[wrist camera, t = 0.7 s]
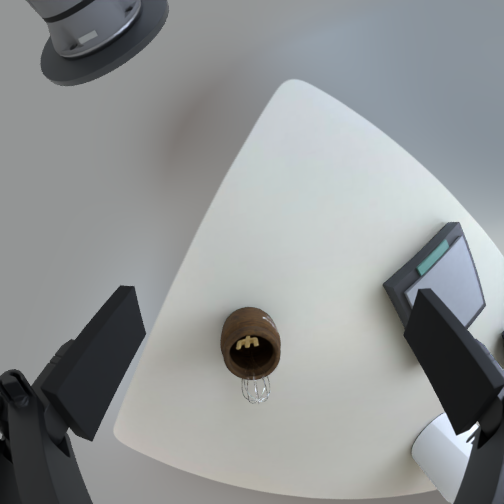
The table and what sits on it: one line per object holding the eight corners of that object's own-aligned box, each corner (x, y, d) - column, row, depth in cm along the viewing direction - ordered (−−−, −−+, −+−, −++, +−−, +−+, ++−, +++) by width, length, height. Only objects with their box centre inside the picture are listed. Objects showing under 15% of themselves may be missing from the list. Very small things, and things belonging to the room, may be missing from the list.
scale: (382, 284, 30) (395, 288, 27) (447, 222, 30) (462, 221, 27) (419, 362, 32) (431, 371, 28) (475, 302, 32) (488, 306, 29)
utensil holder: (228, 358, 30) (225, 421, 18) (216, 308, 29) (204, 353, 18) (278, 348, 30) (301, 407, 18) (269, 297, 30) (290, 337, 18)
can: (455, 435, 34) (505, 482, 14) (408, 466, 34) (452, 525, 14) (462, 396, 33) (526, 444, 13) (410, 431, 33) (470, 499, 13)
